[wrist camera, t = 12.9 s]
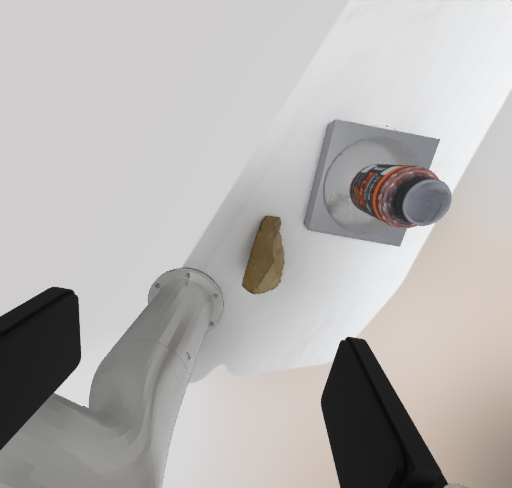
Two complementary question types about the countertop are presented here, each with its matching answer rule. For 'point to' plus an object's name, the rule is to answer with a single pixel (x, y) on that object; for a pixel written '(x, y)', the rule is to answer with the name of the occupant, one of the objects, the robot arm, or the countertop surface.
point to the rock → (265, 258)
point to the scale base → (334, 143)
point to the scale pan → (346, 170)
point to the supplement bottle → (400, 194)
